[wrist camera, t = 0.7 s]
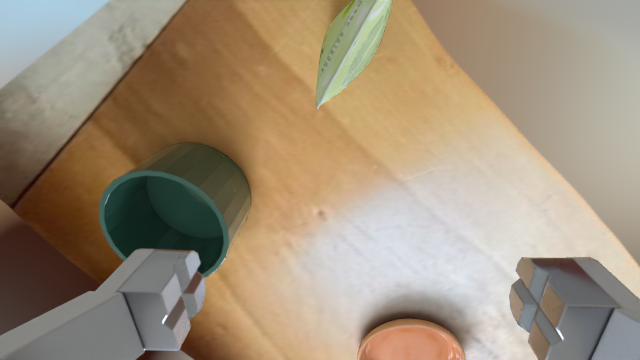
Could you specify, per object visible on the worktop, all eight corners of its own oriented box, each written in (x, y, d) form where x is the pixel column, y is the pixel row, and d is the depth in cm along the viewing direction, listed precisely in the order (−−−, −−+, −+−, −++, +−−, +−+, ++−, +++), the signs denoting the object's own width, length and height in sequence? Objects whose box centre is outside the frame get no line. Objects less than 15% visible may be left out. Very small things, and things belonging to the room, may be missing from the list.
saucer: (343, 321, 51) (343, 337, 48) (448, 299, 47) (454, 316, 45) (373, 386, 57) (374, 403, 54) (468, 371, 53) (474, 389, 51)
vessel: (124, 169, 43) (71, 202, 35) (211, 123, 39) (175, 147, 31) (188, 251, 48) (154, 296, 39) (271, 216, 44) (253, 259, 36)
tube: (321, 13, 33) (290, -7, 16) (371, 1, 33) (397, -35, 15) (332, 70, 36) (315, 109, 18) (379, 60, 35) (410, 90, 17)
